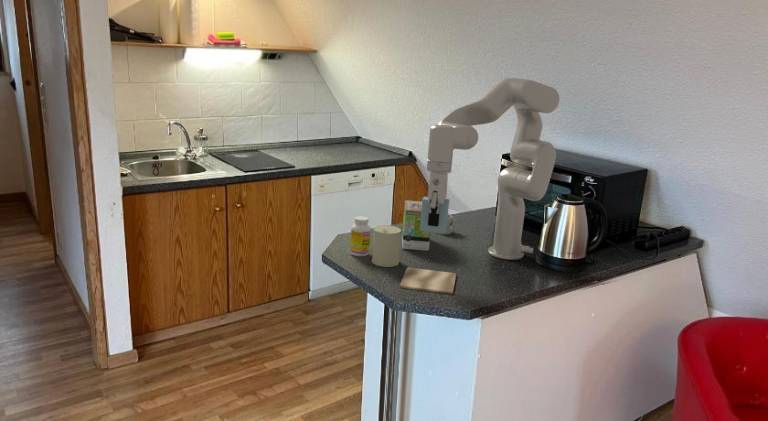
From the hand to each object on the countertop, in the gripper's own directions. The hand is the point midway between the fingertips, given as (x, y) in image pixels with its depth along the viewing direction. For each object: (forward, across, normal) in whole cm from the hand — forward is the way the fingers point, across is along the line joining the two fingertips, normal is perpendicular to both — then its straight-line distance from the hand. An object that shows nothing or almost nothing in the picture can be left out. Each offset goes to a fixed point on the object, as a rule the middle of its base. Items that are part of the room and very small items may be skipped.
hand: (433, 223), depth 186 cm
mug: (+18, +50, +1) cm, 53 cm away
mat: (+18, -4, 0) cm, 18 cm away
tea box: (+18, +30, +9) cm, 36 cm away
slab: (+2, 0, 0) cm, 2 cm away
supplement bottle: (+18, +12, +26) cm, 34 cm away
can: (+18, +7, +16) cm, 25 cm away
